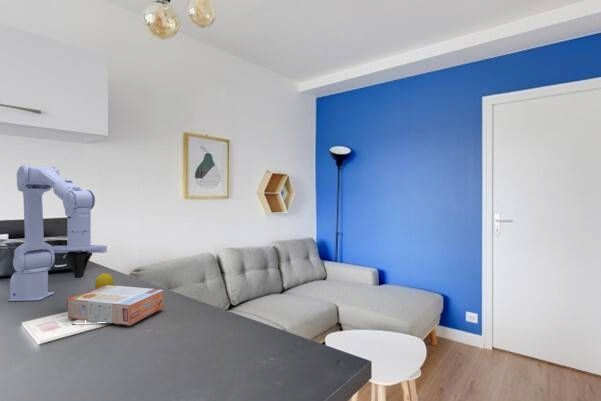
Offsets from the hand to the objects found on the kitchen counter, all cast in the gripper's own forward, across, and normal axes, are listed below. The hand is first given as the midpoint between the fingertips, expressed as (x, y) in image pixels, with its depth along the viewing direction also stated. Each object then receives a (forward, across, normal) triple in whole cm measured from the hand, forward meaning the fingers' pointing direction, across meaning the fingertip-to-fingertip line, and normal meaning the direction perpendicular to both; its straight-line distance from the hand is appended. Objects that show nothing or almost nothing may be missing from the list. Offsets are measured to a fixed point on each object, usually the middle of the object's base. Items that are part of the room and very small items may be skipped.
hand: (79, 277), depth 99 cm
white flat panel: (+10, +9, 0) cm, 14 cm away
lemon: (+11, 0, +16) cm, 19 cm away
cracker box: (+7, +2, 0) cm, 7 cm away
